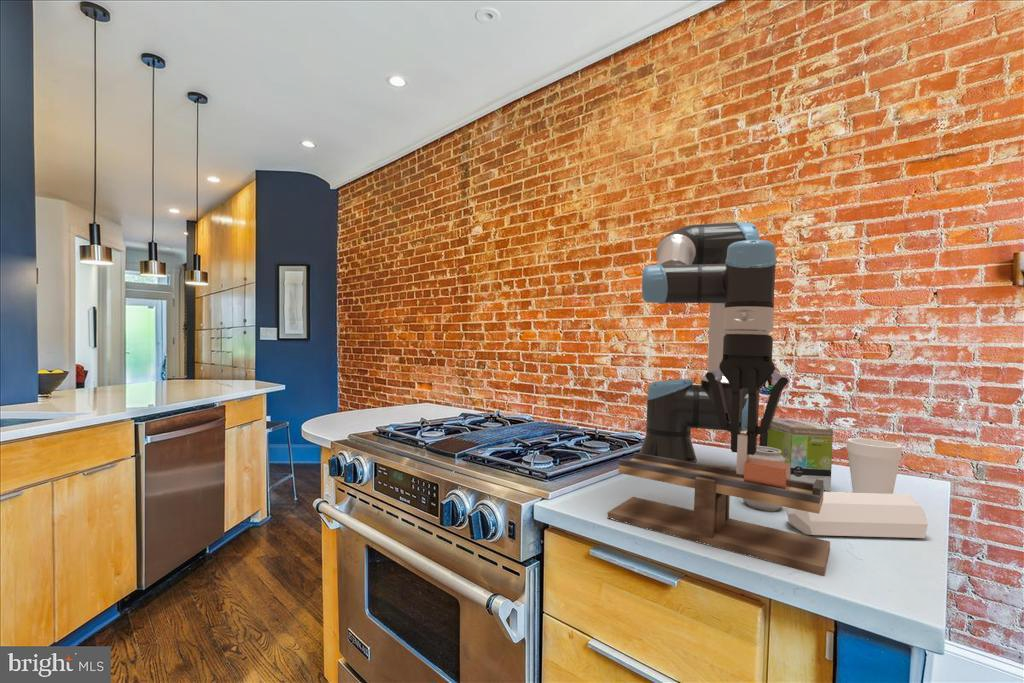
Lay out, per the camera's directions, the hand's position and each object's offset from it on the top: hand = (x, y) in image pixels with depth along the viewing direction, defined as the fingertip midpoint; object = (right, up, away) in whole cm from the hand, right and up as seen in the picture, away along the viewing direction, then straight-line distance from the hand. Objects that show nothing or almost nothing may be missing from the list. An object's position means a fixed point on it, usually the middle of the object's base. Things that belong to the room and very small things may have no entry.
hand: (742, 472), depth 82 cm
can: (+13, -12, +18) cm, 25 cm away
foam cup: (+38, -13, +22) cm, 46 cm away
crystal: (+23, -13, +6) cm, 27 cm away
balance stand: (-4, -11, +3) cm, 12 cm away
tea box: (+30, -13, +37) cm, 49 cm away
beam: (-4, -2, +3) cm, 5 cm away
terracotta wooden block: (+3, -2, -2) cm, 4 cm away
